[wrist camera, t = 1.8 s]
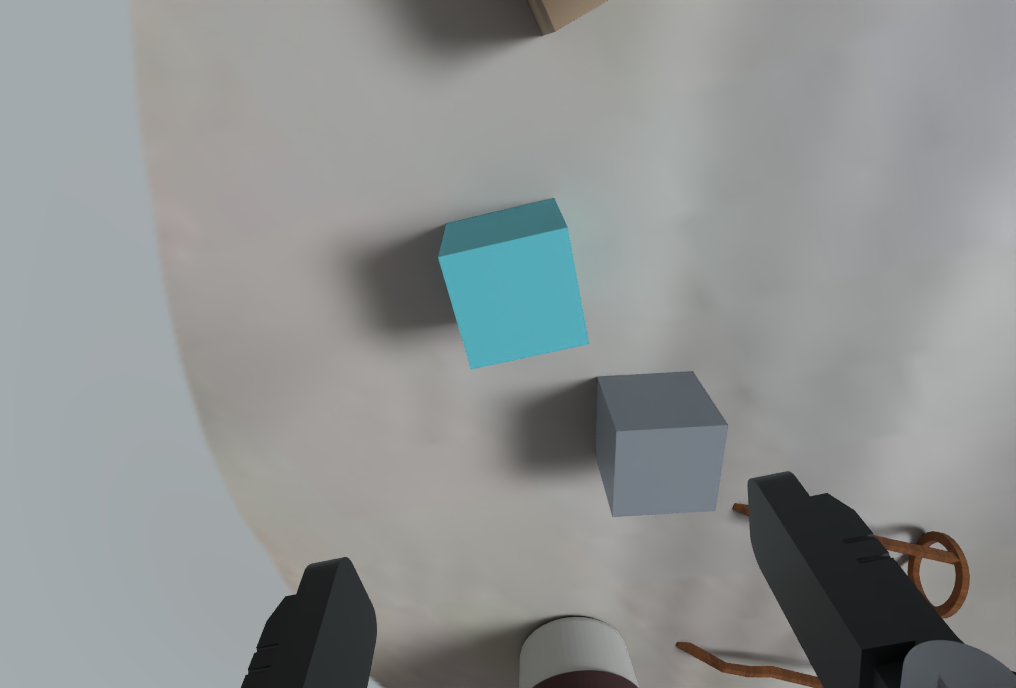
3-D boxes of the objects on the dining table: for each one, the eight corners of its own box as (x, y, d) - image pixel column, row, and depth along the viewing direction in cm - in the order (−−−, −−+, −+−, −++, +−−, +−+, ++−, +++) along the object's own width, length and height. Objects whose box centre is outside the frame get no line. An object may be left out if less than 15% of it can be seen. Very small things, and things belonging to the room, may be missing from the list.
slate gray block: (597, 375, 30) (616, 431, 26) (692, 370, 30) (728, 424, 26) (595, 453, 33) (612, 517, 28) (683, 448, 33) (715, 510, 28)
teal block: (446, 222, 26) (437, 257, 22) (554, 197, 26) (567, 227, 22) (473, 320, 29) (470, 369, 24) (573, 298, 28) (589, 344, 24)
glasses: (849, 652, 42) (893, 723, 37) (674, 640, 40) (697, 713, 36) (933, 512, 36) (997, 578, 31) (732, 494, 35) (768, 559, 30)
